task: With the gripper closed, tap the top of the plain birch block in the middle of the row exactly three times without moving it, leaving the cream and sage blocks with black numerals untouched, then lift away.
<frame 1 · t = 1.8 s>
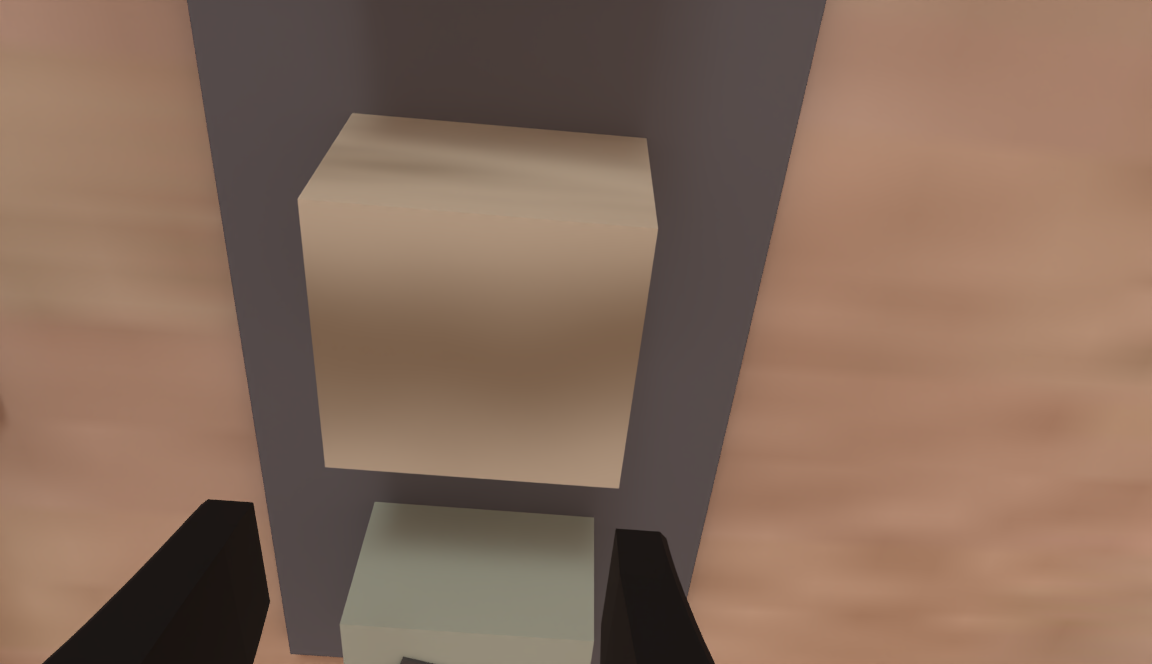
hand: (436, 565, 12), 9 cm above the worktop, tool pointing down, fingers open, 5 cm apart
plain block: (495, 254, 20), resting on tap mat
numeral block seven: (482, 582, 26), resting on tap mat
tap mat: (497, 243, 20), on the worktop
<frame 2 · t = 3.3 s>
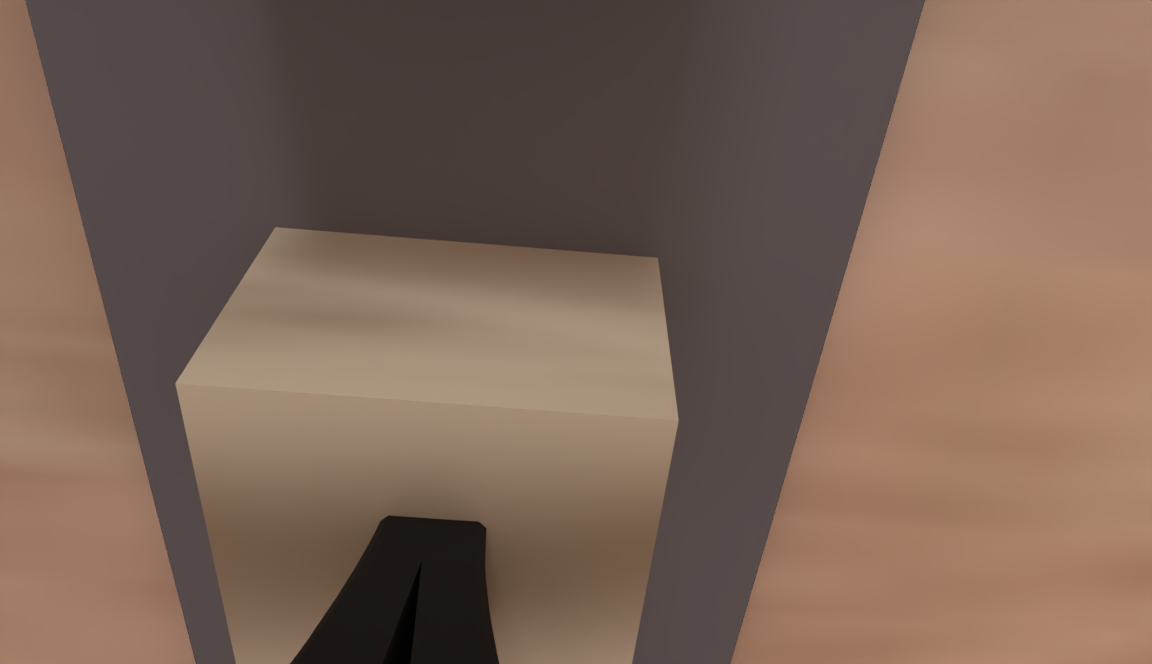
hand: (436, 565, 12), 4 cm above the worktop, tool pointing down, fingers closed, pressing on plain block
plain block: (465, 392, 16), resting on tap mat, touching gripper
tap mat: (468, 375, 16), on the worktop
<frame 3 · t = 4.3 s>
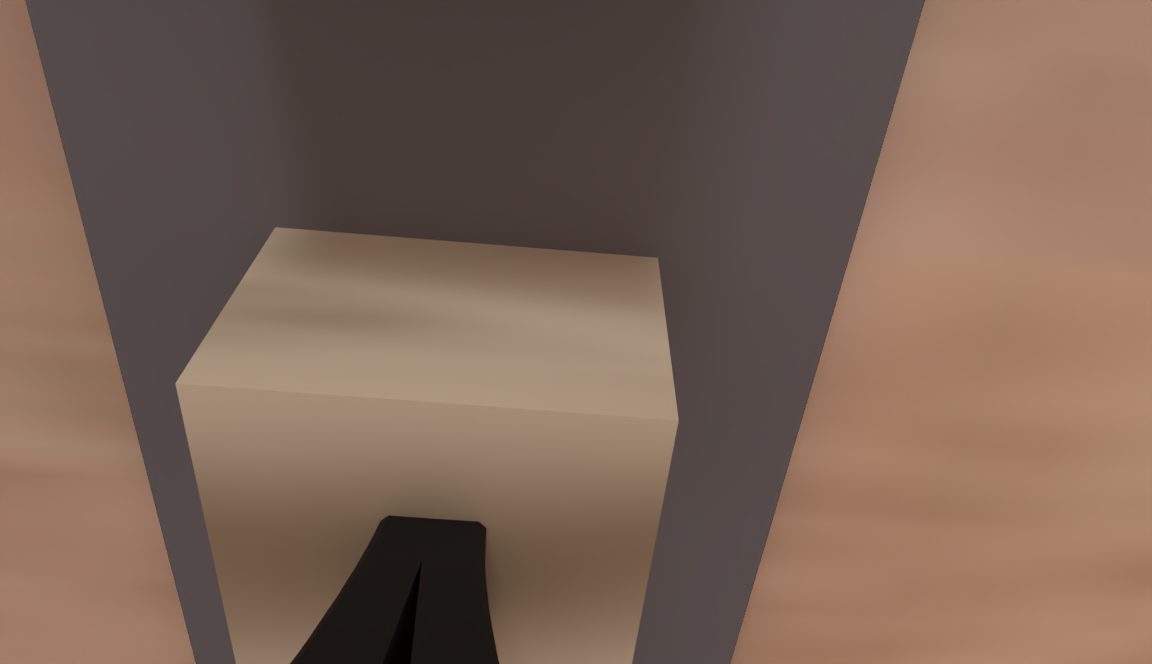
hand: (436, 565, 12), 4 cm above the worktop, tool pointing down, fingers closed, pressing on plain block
plain block: (465, 392, 16), resting on tap mat, touching gripper
tap mat: (468, 375, 16), on the worktop
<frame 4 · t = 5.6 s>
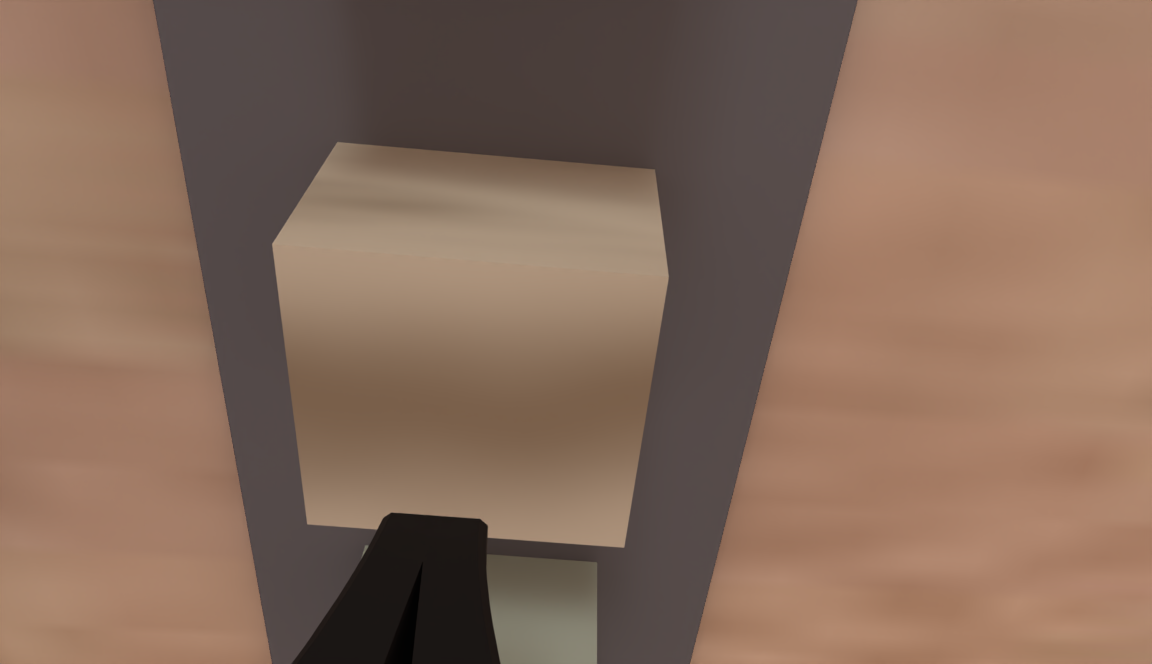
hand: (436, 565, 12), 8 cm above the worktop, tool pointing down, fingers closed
plain block: (492, 290, 18), resting on tap mat
numeral block seven: (479, 627, 25), resting on tap mat
tap mat: (494, 278, 19), on the worktop
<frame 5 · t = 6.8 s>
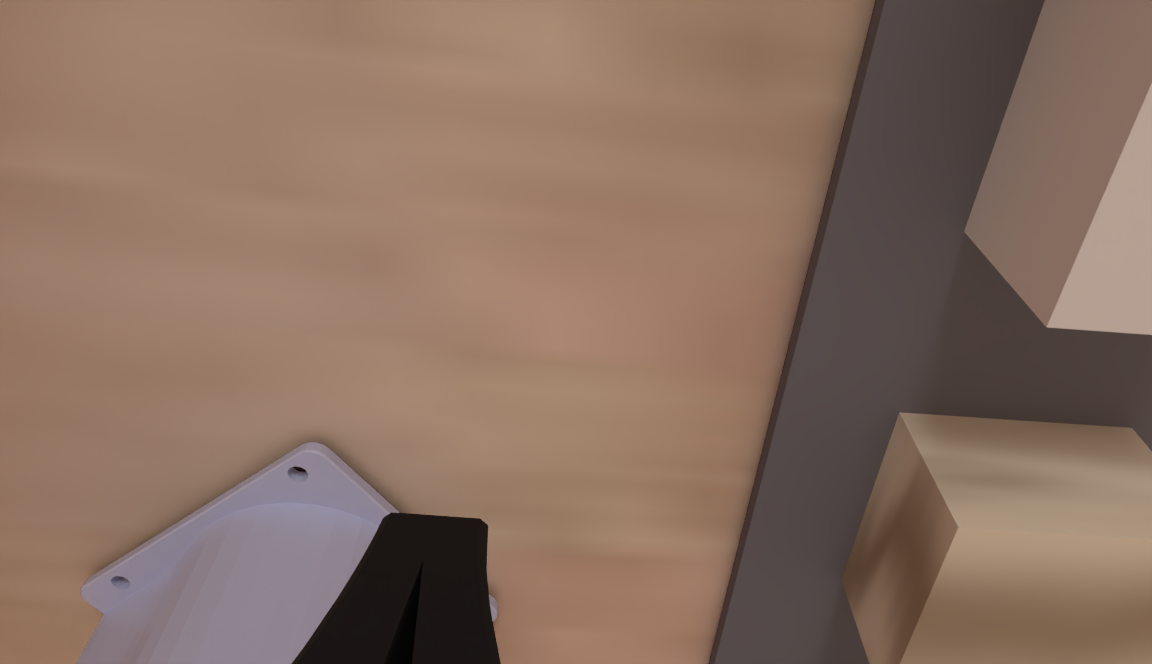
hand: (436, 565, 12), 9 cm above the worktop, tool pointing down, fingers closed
plain block: (977, 508, 24), resting on tap mat
tap mat: (970, 495, 24), on the worktop
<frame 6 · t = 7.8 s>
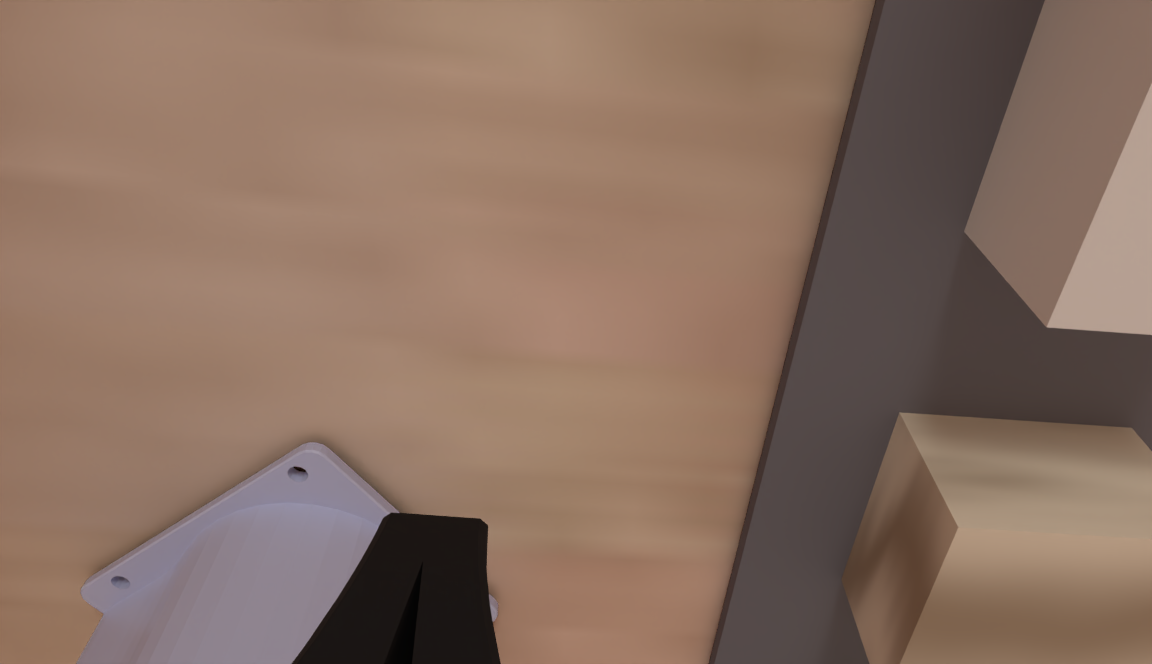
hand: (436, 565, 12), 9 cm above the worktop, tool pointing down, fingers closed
plain block: (977, 508, 24), resting on tap mat
tap mat: (970, 495, 24), on the worktop
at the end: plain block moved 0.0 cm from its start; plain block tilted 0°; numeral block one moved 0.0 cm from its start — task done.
